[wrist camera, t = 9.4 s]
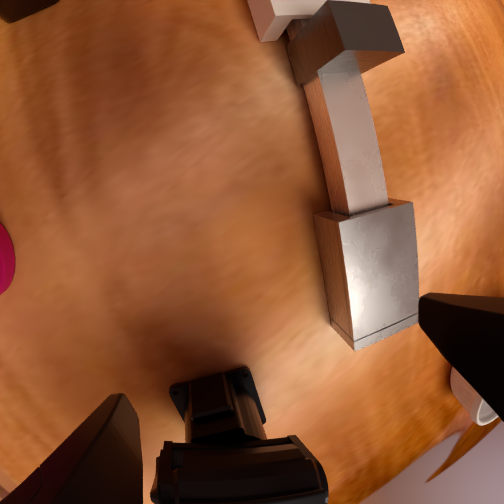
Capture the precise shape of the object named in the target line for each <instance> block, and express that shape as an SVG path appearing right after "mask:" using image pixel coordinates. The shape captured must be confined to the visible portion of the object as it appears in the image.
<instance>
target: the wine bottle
mask: <svg viewBox="0 0 504 504" xmlns="http://www.w3.org/2000/svg"><path fill="white" fill-rule="evenodd" d="M57 1H58V0H0V18H1V19H3V20H4V21H5V22H7V23H10V22H13V21H16V20H18V19H20V18H22V17H24V16H26V15H29V14H31V13H33V12H36V11H38V10H40V9H43V8H45V7H48V6H50V5H52V4H54V3H55V2H57Z"/></svg>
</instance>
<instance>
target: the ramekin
mask: <svg viewBox="0 0 504 504" xmlns="http://www.w3.org/2000/svg"><path fill="white" fill-rule="evenodd" d="M450 382H451V389H452V392H453V394H454V396H455V397H456V398H457V399H458V401H459V402H460V403H461V404H462V406H463V407H464V408H465V409H466V410H467V411H468V412H469V413H470V416H471V419H472V420H473V421H474V422H475V423H477V424H478V425H486V424H488V423H490V422H492V421H493V420H494V419H496V418H497V417H498V415H497V414H496V413H495V412H494V411H493V410H492V408H491V407H490V406H489V405H488V404H487V403H486V402H485V401H484V400H483V398H482V397H481V396H480V395H479V394H478V393H477V392H476V391H475V390H474V389H473V388H472V386H471V385H470V384H469V383H468V382H467V381H466V380H465V379H464V378H463V377H462V376H461V375H460V374H459V373H458V372H457V370H456V369H455V368H454V367H453V366H452V370H451V375H450Z"/></svg>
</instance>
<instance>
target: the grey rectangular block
mask: <svg viewBox="0 0 504 504" xmlns="http://www.w3.org/2000/svg"><path fill="white" fill-rule="evenodd" d="M326 1H327V0H247V2H248V5H249V8H250V11H251V14H252V18H253V21H254V24H255V27H256V31H257V34H258V37H259V41H260V42H269V41H277V40H278V38H279V37H280V35H281V34H282V32H283V31H284V30H285V28H286V27H287V26H288V24H289V23H290V21H291V20H292V19H311V17H312V16H313V15H314V14H315V13H316V12H317V11H318V10H319V8H320V7H321V6H322V5H323V4H324V3H325V2H326ZM337 1H350V2H361V3H369V4H371V3H370V1H369V0H337Z"/></svg>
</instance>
